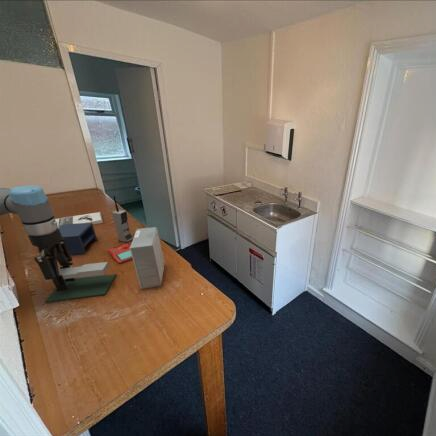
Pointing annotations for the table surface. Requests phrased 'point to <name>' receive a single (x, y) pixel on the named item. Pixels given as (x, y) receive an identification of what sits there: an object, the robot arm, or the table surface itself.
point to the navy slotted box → (77, 236)
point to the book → (81, 219)
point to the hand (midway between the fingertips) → (66, 285)
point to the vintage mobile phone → (121, 224)
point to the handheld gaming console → (121, 253)
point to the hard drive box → (147, 257)
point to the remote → (84, 270)
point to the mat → (83, 288)
